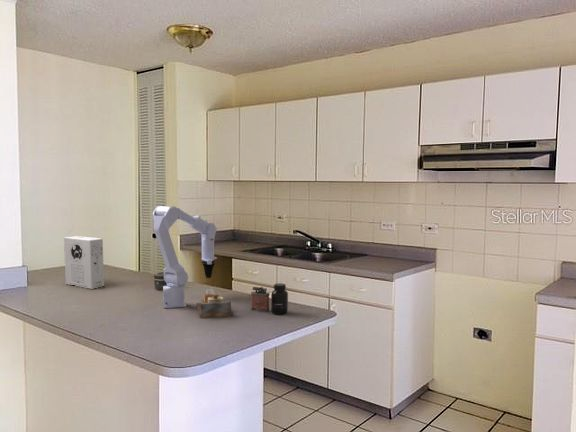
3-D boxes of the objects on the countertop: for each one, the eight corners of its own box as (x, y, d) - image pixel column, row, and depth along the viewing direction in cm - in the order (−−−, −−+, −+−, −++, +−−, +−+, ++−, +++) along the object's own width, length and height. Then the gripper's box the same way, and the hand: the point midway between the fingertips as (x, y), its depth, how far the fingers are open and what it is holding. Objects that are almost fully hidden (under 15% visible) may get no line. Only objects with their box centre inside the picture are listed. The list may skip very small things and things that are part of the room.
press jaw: (205, 303, 212) (205, 295, 212) (202, 296, 224) (202, 289, 223) (219, 302, 213) (218, 294, 213) (216, 295, 225) (216, 288, 225)
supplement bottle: (275, 316, 198) (275, 286, 197) (268, 312, 204) (268, 283, 203) (290, 314, 201) (290, 285, 200) (283, 310, 207) (283, 282, 206)
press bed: (199, 317, 195) (199, 304, 195) (195, 300, 224) (194, 288, 223) (232, 315, 198) (232, 302, 198) (223, 298, 227) (223, 286, 227)
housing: (208, 310, 200) (208, 296, 200) (207, 308, 204) (207, 294, 204) (223, 309, 202) (223, 296, 202) (222, 307, 206) (222, 293, 205)
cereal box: (104, 287, 251) (102, 238, 249) (91, 289, 245) (89, 240, 243) (78, 282, 263) (76, 235, 261) (65, 284, 256) (63, 237, 254)
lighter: (270, 310, 207) (270, 286, 206) (267, 312, 204) (267, 288, 203) (253, 308, 209) (252, 285, 209) (249, 310, 206) (249, 287, 205)
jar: (150, 290, 244) (149, 274, 244) (162, 285, 254) (162, 271, 253) (166, 291, 241) (166, 276, 240) (178, 287, 250) (178, 272, 249)
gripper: (218, 250, 222) (218, 279, 223) (214, 245, 236) (215, 273, 237) (202, 250, 220) (202, 280, 221) (200, 246, 234) (200, 274, 235)
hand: (208, 277), depth 229 cm, fingers open, 3 cm apart
